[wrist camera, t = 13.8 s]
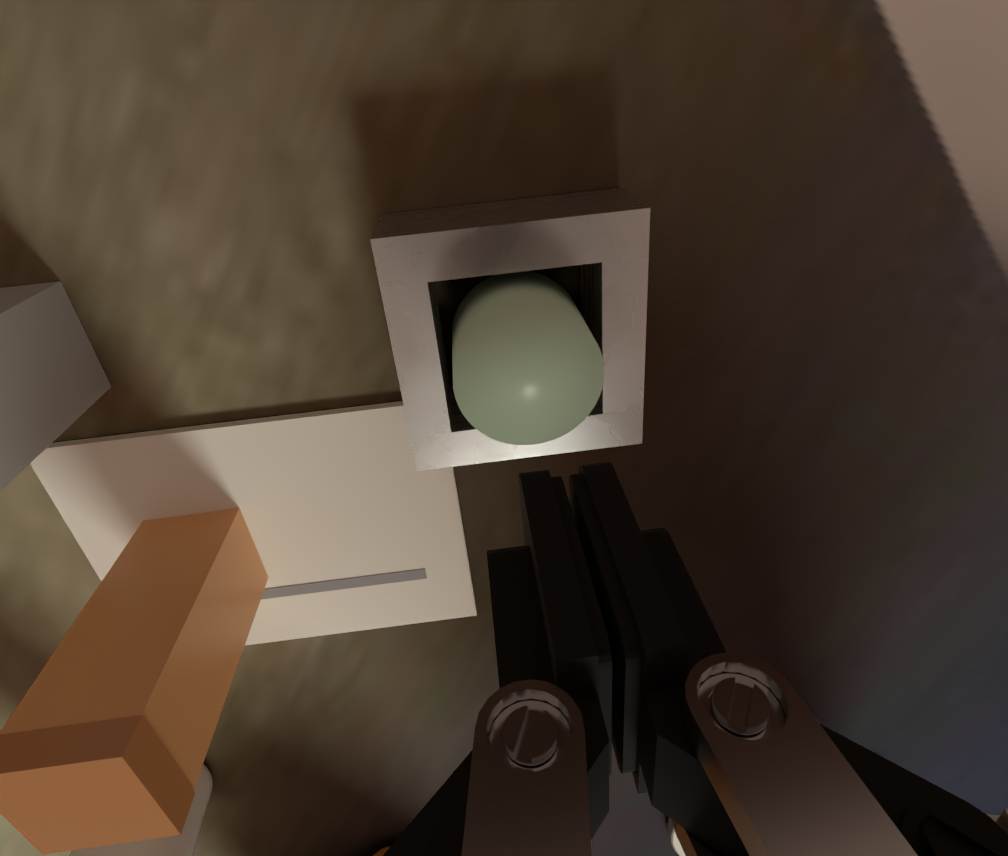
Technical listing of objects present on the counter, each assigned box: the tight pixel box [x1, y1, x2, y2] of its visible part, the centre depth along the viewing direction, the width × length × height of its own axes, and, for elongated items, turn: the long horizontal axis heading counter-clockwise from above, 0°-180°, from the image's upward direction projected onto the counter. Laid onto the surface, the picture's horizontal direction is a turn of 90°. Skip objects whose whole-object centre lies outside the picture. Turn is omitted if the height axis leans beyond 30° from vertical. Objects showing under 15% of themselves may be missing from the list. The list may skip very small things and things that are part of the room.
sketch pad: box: [30, 401, 477, 645], centre depth 26 cm, size 16×12×1 cm
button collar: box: [370, 188, 650, 471], centre depth 20 cm, size 8×8×4 cm
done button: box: [452, 271, 604, 445], centre depth 19 cm, size 4×4×4 cm
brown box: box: [0, 508, 269, 854], centre depth 21 cm, size 4×4×11 cm
